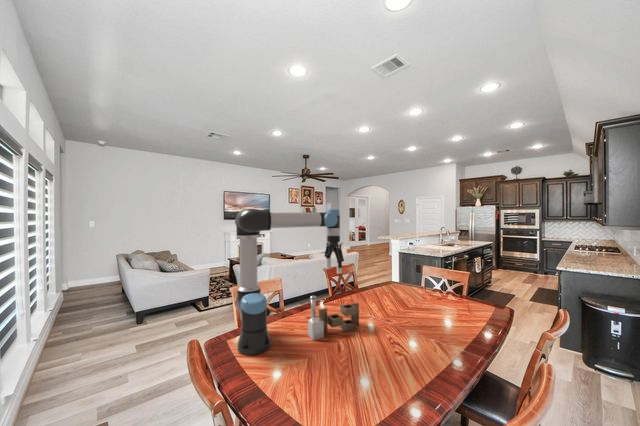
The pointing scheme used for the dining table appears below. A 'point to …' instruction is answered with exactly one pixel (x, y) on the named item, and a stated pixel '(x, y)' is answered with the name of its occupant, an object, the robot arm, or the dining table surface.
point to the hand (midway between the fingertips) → (333, 271)
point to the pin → (313, 306)
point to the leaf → (323, 323)
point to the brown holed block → (354, 313)
